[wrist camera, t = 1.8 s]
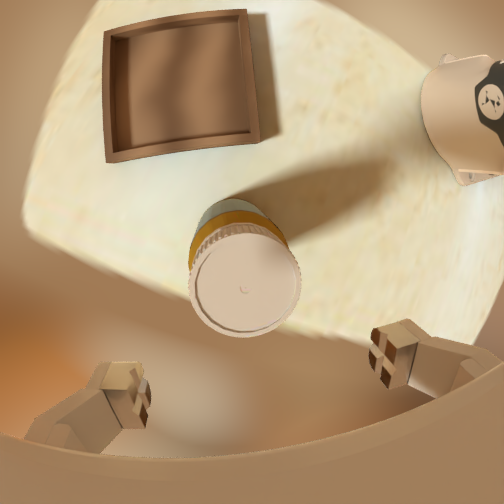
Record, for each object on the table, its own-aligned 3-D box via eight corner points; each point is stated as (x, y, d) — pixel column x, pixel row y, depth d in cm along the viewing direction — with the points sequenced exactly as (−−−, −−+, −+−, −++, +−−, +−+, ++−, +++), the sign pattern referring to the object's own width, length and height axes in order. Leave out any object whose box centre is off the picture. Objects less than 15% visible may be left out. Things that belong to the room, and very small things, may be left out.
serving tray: (244, 19, 24) (246, 8, 22) (257, 143, 28) (260, 141, 26) (111, 40, 23) (103, 31, 20) (114, 163, 27) (106, 163, 24)
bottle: (186, 247, 30) (161, 315, 16) (217, 185, 29) (216, 199, 14) (246, 275, 31) (270, 359, 17) (278, 217, 30) (332, 259, 16)
